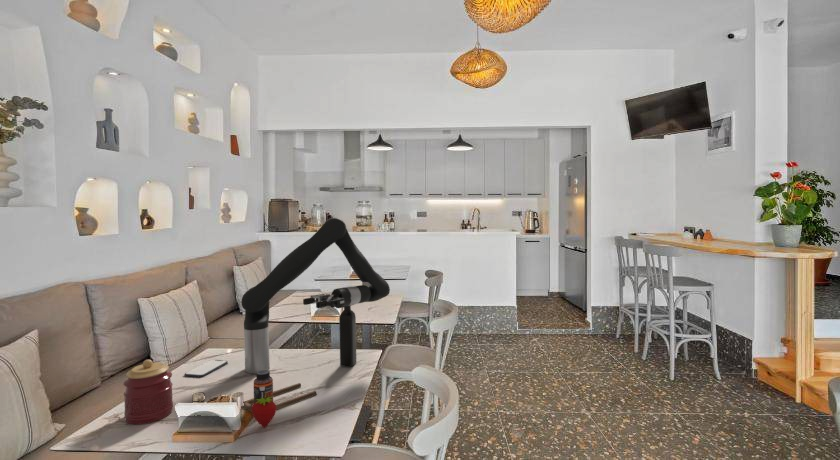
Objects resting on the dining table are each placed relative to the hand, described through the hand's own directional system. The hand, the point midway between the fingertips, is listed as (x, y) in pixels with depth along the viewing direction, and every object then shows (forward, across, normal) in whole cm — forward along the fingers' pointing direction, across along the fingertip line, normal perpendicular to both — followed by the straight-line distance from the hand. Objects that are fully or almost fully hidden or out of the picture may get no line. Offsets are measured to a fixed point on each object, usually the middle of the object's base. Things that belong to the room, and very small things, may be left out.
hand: (310, 303), depth 154 cm
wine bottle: (-22, -7, +30) cm, 38 cm away
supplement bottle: (+20, +3, +30) cm, 36 cm away
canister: (+47, -18, +30) cm, 59 cm away
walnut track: (+14, +3, +30) cm, 33 cm away
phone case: (+20, -46, +31) cm, 58 cm away
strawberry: (+26, +16, +30) cm, 43 cm away
